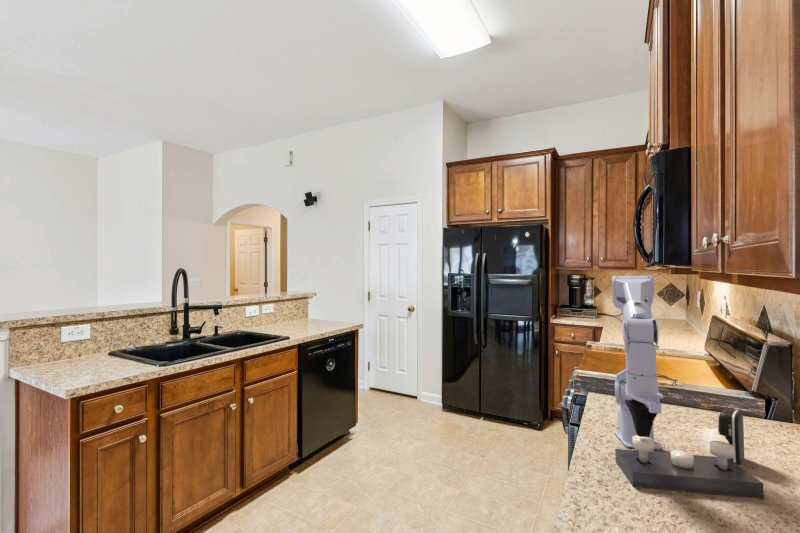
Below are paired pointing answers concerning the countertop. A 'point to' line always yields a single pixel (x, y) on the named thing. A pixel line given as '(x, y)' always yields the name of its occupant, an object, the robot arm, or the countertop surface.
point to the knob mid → (682, 459)
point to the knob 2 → (722, 453)
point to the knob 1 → (643, 447)
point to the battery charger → (733, 431)
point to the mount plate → (688, 475)
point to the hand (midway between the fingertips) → (642, 435)
